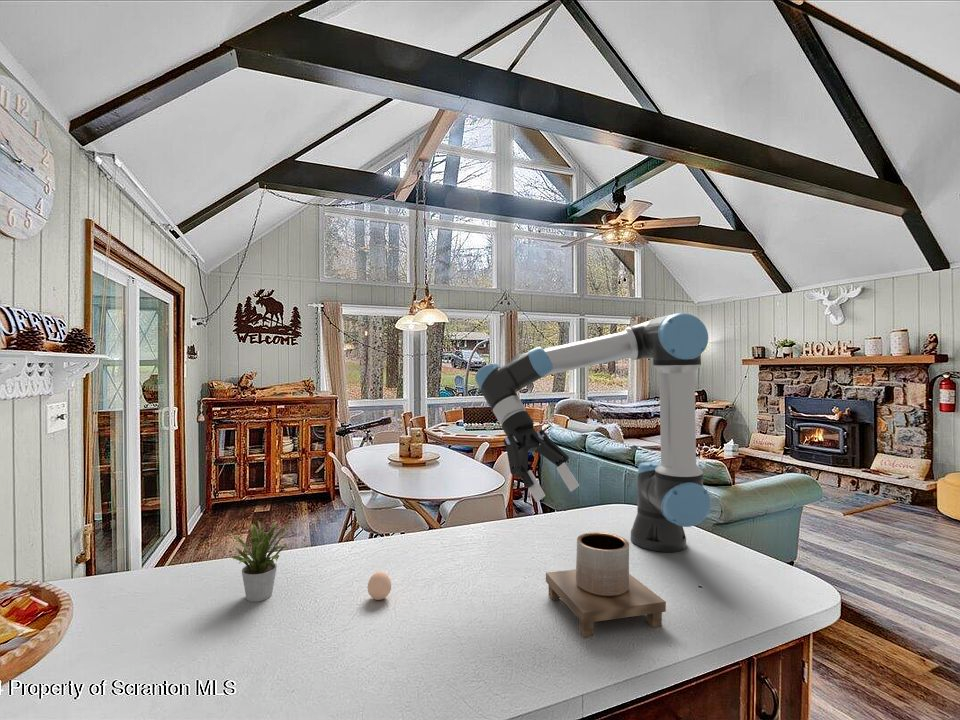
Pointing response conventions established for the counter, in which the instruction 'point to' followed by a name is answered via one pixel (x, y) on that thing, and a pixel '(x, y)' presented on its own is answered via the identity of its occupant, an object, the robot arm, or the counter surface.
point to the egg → (379, 585)
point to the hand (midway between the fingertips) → (558, 493)
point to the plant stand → (605, 601)
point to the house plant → (259, 563)
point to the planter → (602, 564)
